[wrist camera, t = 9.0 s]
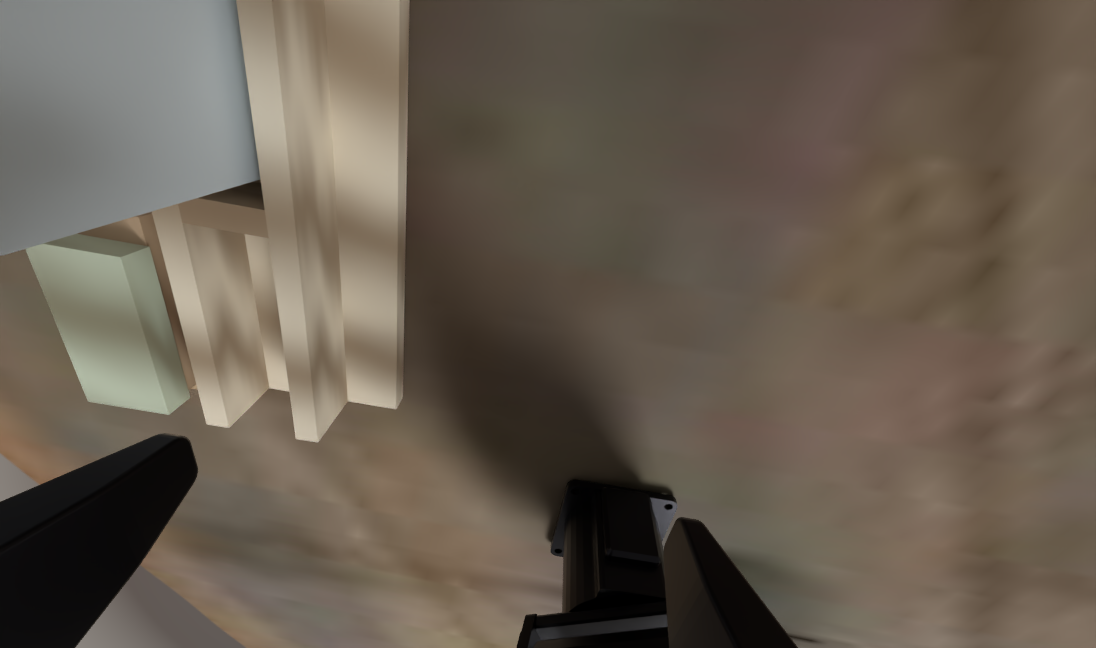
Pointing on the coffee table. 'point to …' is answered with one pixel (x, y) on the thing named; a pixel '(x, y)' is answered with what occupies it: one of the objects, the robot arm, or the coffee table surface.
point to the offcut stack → (117, 314)
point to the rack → (304, 221)
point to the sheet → (117, 112)
